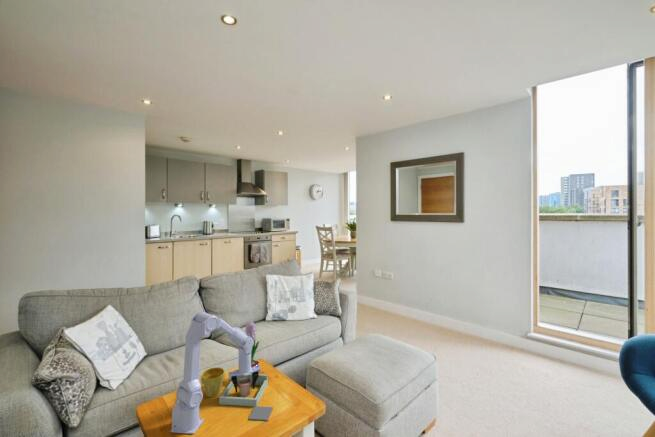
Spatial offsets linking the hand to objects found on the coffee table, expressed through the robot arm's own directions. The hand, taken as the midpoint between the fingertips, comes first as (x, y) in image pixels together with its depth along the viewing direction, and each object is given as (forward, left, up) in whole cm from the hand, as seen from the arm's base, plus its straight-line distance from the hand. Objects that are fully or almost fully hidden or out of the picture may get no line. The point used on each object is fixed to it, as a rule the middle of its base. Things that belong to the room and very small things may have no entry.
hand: (244, 389), depth 139 cm
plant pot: (-15, -1, -2) cm, 15 cm away
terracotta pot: (0, 0, -2) cm, 2 cm away
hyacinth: (-2, +15, -2) cm, 15 cm away
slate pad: (+12, -13, -2) cm, 18 cm away
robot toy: (-24, -11, -3) cm, 27 cm away
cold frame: (0, 0, -2) cm, 2 cm away
